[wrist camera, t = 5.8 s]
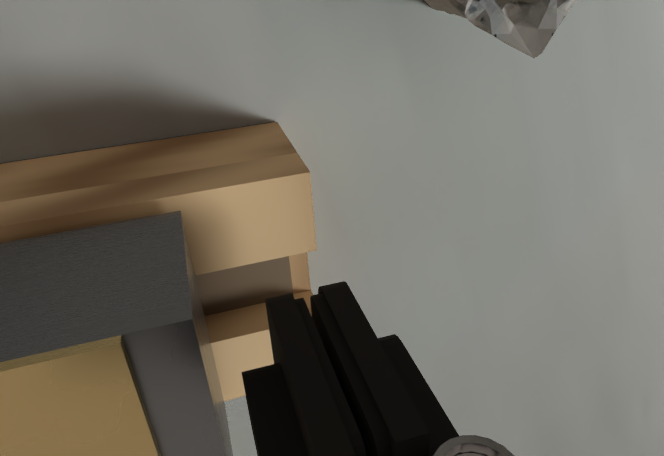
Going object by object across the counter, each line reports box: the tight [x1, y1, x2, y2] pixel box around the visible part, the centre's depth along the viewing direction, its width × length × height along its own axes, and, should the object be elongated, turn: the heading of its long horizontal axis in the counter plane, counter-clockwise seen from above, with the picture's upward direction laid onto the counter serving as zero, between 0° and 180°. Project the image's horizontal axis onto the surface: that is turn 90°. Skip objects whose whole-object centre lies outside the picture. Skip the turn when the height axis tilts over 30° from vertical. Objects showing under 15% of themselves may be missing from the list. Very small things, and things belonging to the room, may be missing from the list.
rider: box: [0, 210, 233, 456], centre depth 11 cm, size 4×6×5 cm
